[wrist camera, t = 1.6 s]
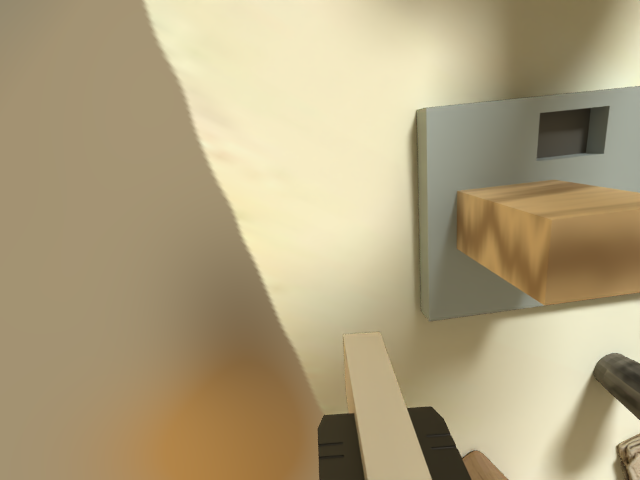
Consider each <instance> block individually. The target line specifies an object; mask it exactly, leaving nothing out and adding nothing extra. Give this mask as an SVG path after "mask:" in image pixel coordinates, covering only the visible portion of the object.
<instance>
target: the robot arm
mask: <svg viewBox="0 0 640 480" xmlns="http://www.w3.org/2000/svg"><path fill="white" fill-rule="evenodd" d="M343 346H344V368H345V390H346V397H347V404H348V411H349V414H335V415H324V416H323V418H322V420H321V423H320V425H319V427H318V445H319V446H318V447H319V448H318V449H319V479H320V480H472V479H471V477H470V475H469V473H468V471H467V468H466V466H465V464H464V462H463V460H462V458H461V456H460V453H459V451H458V449H457V448H456V445H455V443H454V440H453V438H452V436H451V435H450V432H449V430H448V427H447V425H446V423H445V421H444V419H443V418H442V417H441V416H440V415H439V414H438V413H437V412H436V411H435V410H434V409H433V408H432V407H417V408H407V407H406V404H405V402H404V399H403V396H402V393H401V390H400V387H399V384H398V382H397V379H396V376H395V373H394V370H393V367H392V365H391V362H390V359H389V356H388V353H387V350H386V347H385V345H384V342H383V339H382V336H381V333H380V332H369V333H354V334H343Z"/></svg>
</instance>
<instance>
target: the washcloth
mask: <svg viewBox="0 0 640 480" xmlns="http://www.w3.org/2000/svg"><path fill="white" fill-rule="evenodd" d="M618 450H619V457H621V458H620V459H621V460H622V461H621V466H622V471H623V474H624V477H625V479H626V480H640V434H638V435H636V436H634V437H631V438H630V439H627V440H625V441H623V442H622V443H620V444H619V447H618ZM623 465H625V466H623Z"/></svg>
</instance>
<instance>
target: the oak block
mask: <svg viewBox="0 0 640 480" xmlns="http://www.w3.org/2000/svg"><path fill="white" fill-rule="evenodd" d="M457 249H458V250H460V251H461V252H463V253H464V254H466V255H467V256H469V257H470V258H472V259H473V260H475V261H477V262H478V263H480V264H481V265H483V266H484V267H486V268H487V269H489V270H490V271H492V272H493V273H495V274H497V275H498V276H500V277H501V278H503V279H504V280H506V281H507V282H509V283H510V284H512V285H513V286H515V287H517V288H518V289H520V290H521V291H523V292H524V293H526V294H527V295H529V296H530V297H532V298H534V299H535V300H537V301H538V302H540V303H541V304H543V305H544V306H545V305H552V304H559V303H567V302H574V301H581V300H589V299H596V298H603V297H611V296H618V295H625V294H632V293H640V193H638V192H632V191H625V190H619V189H612V188H606V187H599V186H593V185H586V184H580V183H573V182H566V181H560V180H546V181H538V182H529V183H521V184H512V185H503V186H495V187H486V188H477V189H469V190H460V191H457Z"/></svg>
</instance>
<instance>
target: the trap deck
mask: <svg viewBox="0 0 640 480" xmlns="http://www.w3.org/2000/svg"><path fill="white" fill-rule="evenodd" d="M417 145H418V193H419V241H420V289H421V311H422V313H423V314H424V315H425V316H426V318H427V319H428V320H429V321H435V320H442V319H450V318H457V317H464V316H472V315H479V314H486V313H494V312H501V311H508V310H515V309H523V308H530V307H537V306H544V305H543V304H541V303H540V302H538V301H537V300H535V299H534V298H532V297H530V296H529V295H527V294H526V293H524V292H523V291H521V290H520V289H518V288H517V287H515V286H513V285H512V284H510V283H509V282H507V281H506V280H504V279H503V278H501V277H500V276H498V275H497V274H495V273H493V272H492V271H490V270H489V269H487V268H486V267H484V266H483V265H481V264H480V263H478V262H477V261H475V260H473V259H472V258H470V257H469V256H467V255H466V254H464V253H463V252H461V251H460V250H458V249H457V191H460V190H469V189H477V188H486V187H495V186H503V185H512V184H521V183H529V182H538V181H546V180H560V181H566V182H573V183H580V184H586V185H593V186H599V187H606V188H612V189H619V190H625V191H632V192H638V193H640V86H635V87H625V88H615V89H606V90H596V91H586V92H576V93H566V94H556V95H547V96H537V97H527V98H517V99H507V100H497V101H488V102H478V103H468V104H458V105H448V106H438V107H429V108H423V109H418V110H417Z"/></svg>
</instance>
